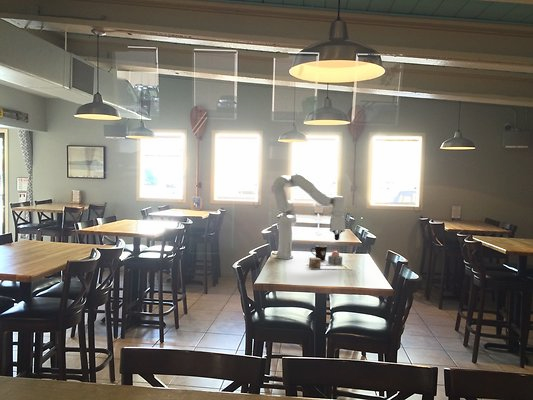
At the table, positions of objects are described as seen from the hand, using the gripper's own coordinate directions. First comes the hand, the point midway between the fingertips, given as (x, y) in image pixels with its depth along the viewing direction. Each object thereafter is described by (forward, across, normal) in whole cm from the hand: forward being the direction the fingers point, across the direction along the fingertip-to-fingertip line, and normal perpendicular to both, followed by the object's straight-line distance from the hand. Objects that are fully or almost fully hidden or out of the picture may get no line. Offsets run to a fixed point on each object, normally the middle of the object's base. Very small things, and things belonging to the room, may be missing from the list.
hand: (336, 239), depth 306 cm
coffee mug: (+16, -9, +14) cm, 24 cm away
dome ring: (+17, -1, 0) cm, 17 cm away
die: (+16, -19, -14) cm, 29 cm away
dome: (+13, -1, 0) cm, 13 cm away
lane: (+16, -11, -14) cm, 24 cm away
